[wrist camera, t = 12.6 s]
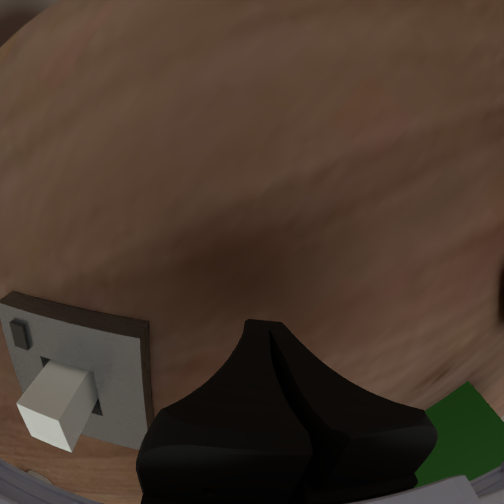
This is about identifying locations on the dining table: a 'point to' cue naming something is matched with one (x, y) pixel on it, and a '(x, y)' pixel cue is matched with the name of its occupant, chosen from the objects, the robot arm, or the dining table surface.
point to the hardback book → (463, 438)
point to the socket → (86, 360)
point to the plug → (59, 404)
